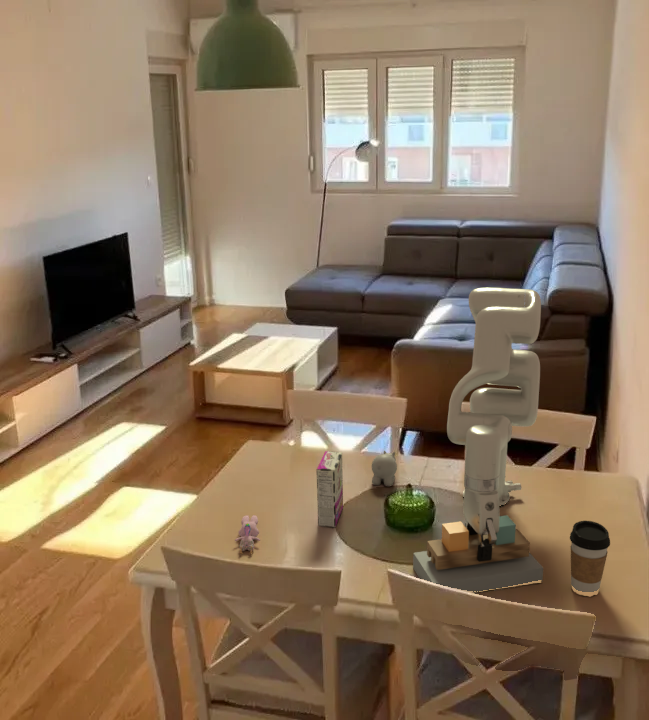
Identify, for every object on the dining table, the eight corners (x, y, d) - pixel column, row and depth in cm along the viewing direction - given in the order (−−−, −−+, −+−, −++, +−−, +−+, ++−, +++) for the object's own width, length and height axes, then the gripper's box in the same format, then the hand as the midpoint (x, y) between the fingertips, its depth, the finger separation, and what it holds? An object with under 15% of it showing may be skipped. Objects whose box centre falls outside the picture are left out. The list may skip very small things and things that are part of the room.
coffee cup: (596, 578, 181) (603, 519, 176) (610, 600, 173) (617, 538, 168) (560, 579, 181) (565, 520, 176) (572, 601, 173) (578, 539, 168)
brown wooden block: (515, 541, 186) (516, 528, 185) (528, 556, 180) (529, 542, 179) (426, 554, 182) (427, 541, 181) (437, 570, 176) (437, 556, 175)
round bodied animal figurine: (403, 472, 235) (404, 445, 232) (392, 489, 224) (392, 462, 222) (380, 468, 237) (380, 442, 235) (368, 485, 227) (368, 458, 224)
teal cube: (505, 532, 184) (507, 515, 182) (514, 542, 180) (515, 524, 178) (487, 535, 183) (488, 517, 181) (496, 545, 179) (497, 527, 177)
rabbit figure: (259, 559, 192) (263, 520, 206) (258, 540, 190) (262, 501, 203) (233, 560, 192) (238, 520, 206) (232, 540, 190) (237, 502, 203)
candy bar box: (325, 506, 215) (324, 450, 210) (343, 507, 214) (343, 451, 209) (316, 526, 205) (315, 468, 200) (335, 528, 204) (335, 469, 199)
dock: (516, 553, 191) (517, 538, 190) (542, 583, 179) (543, 567, 178) (413, 567, 186) (413, 552, 184) (432, 599, 174) (433, 583, 172)
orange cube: (460, 538, 181) (461, 521, 180) (468, 549, 177) (468, 531, 176) (441, 541, 180) (442, 523, 179) (448, 551, 176) (449, 533, 175)
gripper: (514, 496, 168) (509, 570, 174) (481, 462, 184) (477, 531, 190) (481, 500, 167) (477, 574, 172) (450, 465, 183) (448, 535, 188)
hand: (477, 551), depth 181 cm, fingers closed on brown wooden block, 6 cm apart
